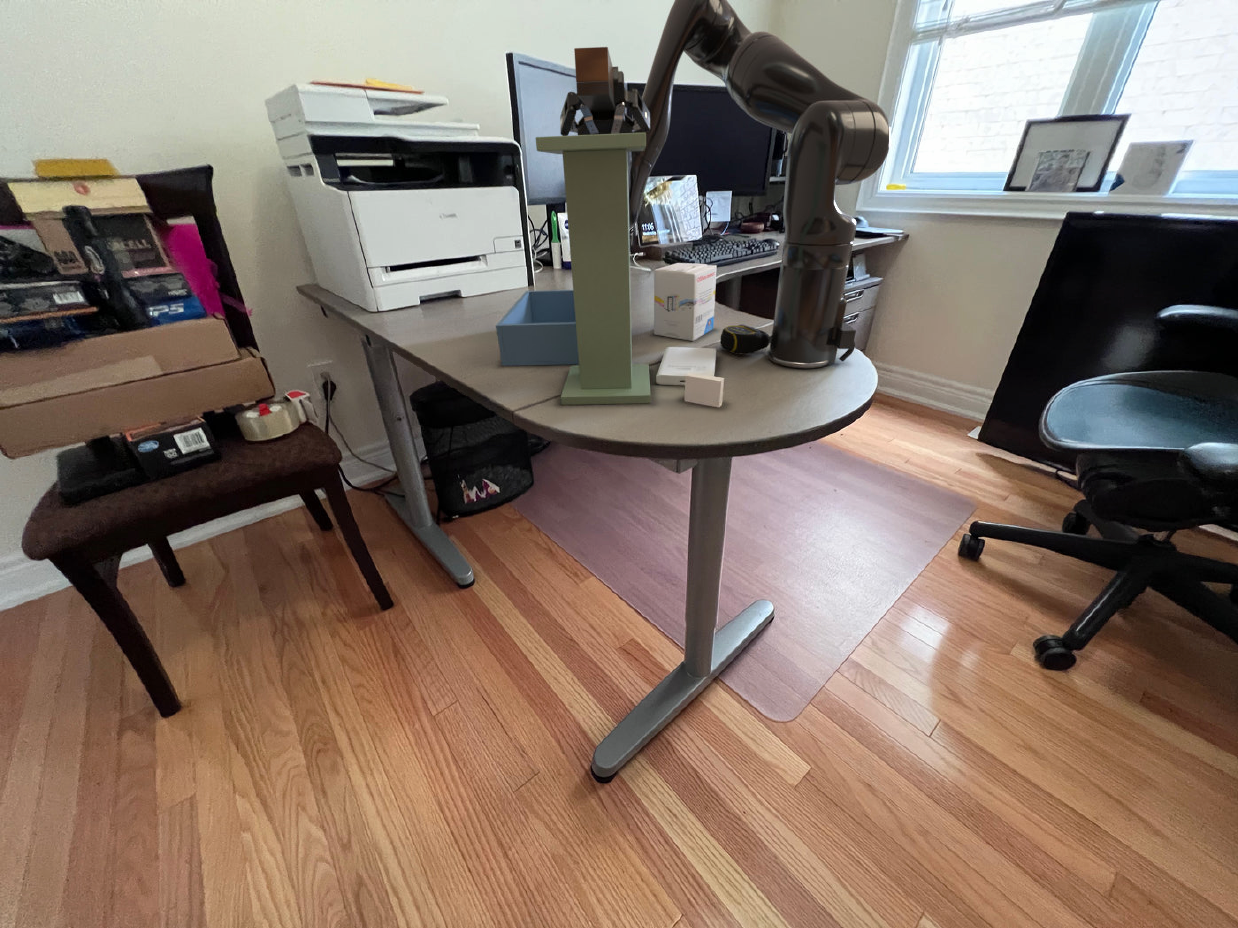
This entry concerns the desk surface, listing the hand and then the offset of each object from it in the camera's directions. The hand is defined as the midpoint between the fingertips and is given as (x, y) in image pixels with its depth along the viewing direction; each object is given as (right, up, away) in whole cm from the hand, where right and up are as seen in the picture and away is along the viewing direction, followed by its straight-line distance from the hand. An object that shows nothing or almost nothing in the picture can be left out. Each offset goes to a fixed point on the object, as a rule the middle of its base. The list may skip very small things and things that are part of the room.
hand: (599, 74), depth 63 cm
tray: (-9, -27, +27) cm, 40 cm away
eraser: (+14, -42, +3) cm, 44 cm away
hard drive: (+13, -36, +13) cm, 40 cm away
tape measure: (+23, -31, +20) cm, 44 cm away
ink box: (+15, -25, +30) cm, 42 cm away
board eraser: (0, -5, -1) cm, 5 cm away
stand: (+1, -39, +8) cm, 40 cm away
